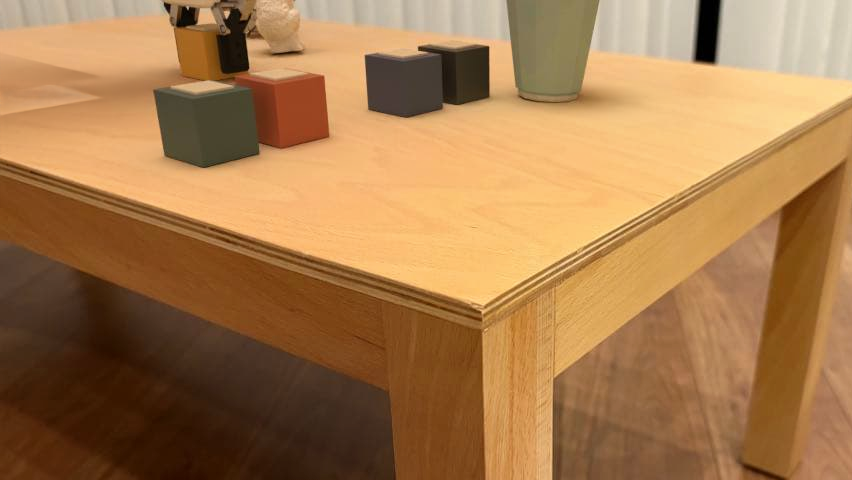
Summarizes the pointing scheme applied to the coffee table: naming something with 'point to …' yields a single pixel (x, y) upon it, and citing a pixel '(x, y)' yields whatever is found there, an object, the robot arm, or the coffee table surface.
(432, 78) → the block
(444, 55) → the block
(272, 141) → the block
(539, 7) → the disposable coffee cup
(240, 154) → the block
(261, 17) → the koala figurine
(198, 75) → the yellow cube block
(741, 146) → the coffee table surface
